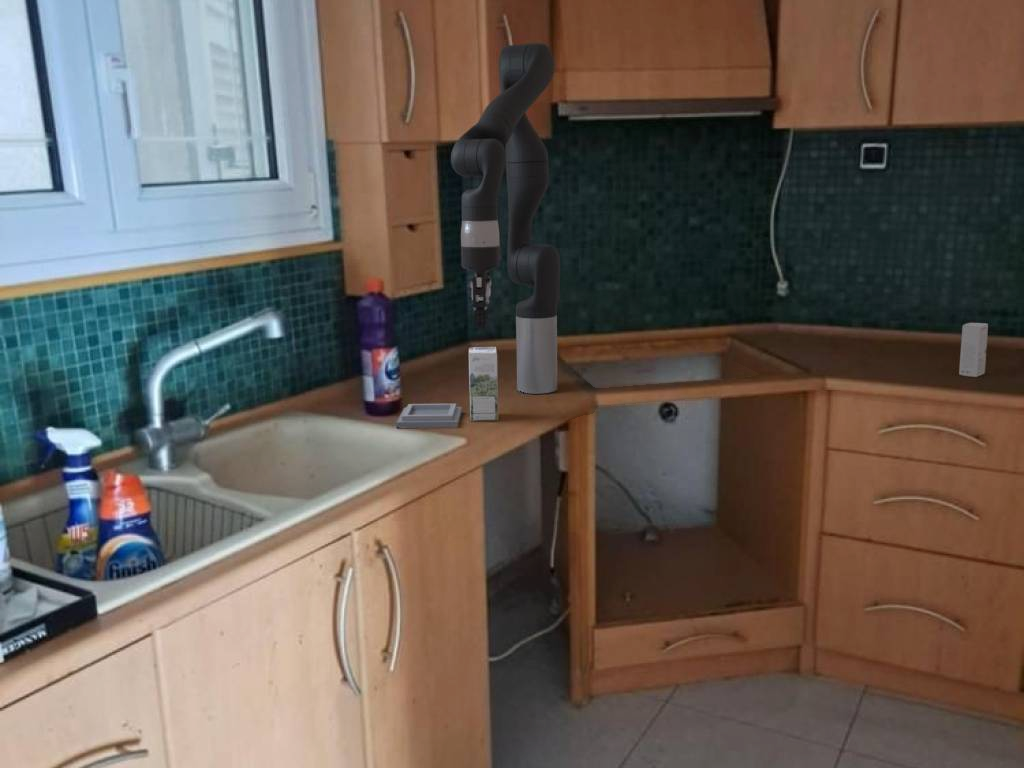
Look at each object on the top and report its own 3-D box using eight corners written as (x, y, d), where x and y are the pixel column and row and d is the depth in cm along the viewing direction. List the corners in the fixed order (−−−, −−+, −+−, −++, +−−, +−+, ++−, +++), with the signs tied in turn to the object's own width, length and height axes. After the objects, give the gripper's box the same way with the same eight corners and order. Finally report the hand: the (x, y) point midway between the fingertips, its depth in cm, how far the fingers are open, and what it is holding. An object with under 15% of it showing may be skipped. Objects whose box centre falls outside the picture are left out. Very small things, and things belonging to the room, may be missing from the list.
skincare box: (977, 377, 220) (982, 326, 217) (957, 375, 223) (961, 324, 220) (985, 373, 224) (990, 323, 222) (965, 370, 227) (970, 321, 225)
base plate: (404, 413, 196) (404, 402, 196) (461, 412, 196) (461, 402, 195) (396, 428, 184) (396, 417, 184) (457, 427, 184) (456, 416, 184)
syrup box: (498, 414, 194) (496, 345, 191) (498, 421, 188) (497, 350, 185) (470, 415, 194) (468, 346, 191) (470, 422, 188) (468, 351, 185)
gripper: (498, 246, 176) (499, 331, 180) (500, 241, 190) (501, 320, 194) (458, 246, 176) (460, 331, 180) (463, 241, 190) (465, 320, 194)
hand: (481, 325), depth 187 cm, fingers open, 8 cm apart
